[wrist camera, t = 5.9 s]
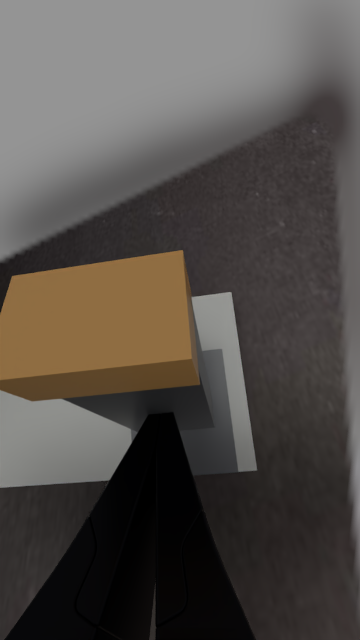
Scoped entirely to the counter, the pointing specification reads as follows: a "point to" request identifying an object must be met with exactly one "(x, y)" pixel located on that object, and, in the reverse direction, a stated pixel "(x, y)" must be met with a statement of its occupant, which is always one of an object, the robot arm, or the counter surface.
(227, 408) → the grey mounting base
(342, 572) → the counter surface
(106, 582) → the robot arm
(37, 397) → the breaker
